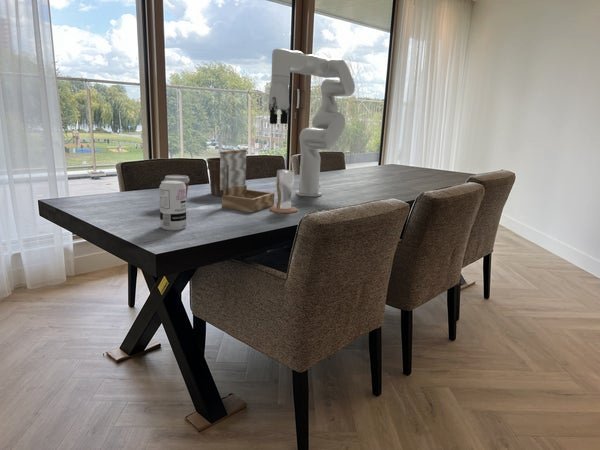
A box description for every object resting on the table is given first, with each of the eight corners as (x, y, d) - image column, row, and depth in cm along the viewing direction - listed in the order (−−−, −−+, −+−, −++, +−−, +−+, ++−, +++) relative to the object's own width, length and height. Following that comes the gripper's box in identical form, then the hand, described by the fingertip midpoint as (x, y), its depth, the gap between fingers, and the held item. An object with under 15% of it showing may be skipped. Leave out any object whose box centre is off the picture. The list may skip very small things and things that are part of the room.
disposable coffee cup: (194, 206, 178) (194, 176, 175) (178, 210, 169) (178, 179, 166) (175, 203, 182) (175, 173, 179) (159, 207, 173) (158, 176, 170)
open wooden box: (243, 200, 195) (244, 149, 190) (274, 204, 189) (276, 152, 184) (219, 207, 179) (219, 151, 174) (252, 212, 173) (253, 155, 168)
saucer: (277, 206, 187) (277, 204, 187) (301, 209, 183) (301, 207, 183) (264, 210, 177) (264, 208, 177) (289, 214, 173) (290, 212, 173)
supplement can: (163, 224, 149) (162, 179, 146) (188, 224, 150) (188, 180, 146) (157, 230, 142) (156, 183, 138) (184, 231, 142) (183, 184, 139)
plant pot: (199, 195, 201) (199, 159, 197) (216, 190, 216) (216, 156, 212) (232, 199, 196) (233, 162, 192) (247, 193, 211) (248, 159, 207)
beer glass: (290, 210, 176) (292, 172, 172) (273, 209, 177) (274, 171, 174) (294, 207, 183) (296, 170, 179) (277, 205, 184) (279, 169, 180)
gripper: (281, 82, 193) (280, 123, 198) (262, 79, 178) (260, 123, 182) (297, 83, 190) (295, 124, 195) (279, 79, 175) (277, 124, 179)
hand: (278, 123), depth 188 cm, fingers open, 9 cm apart
